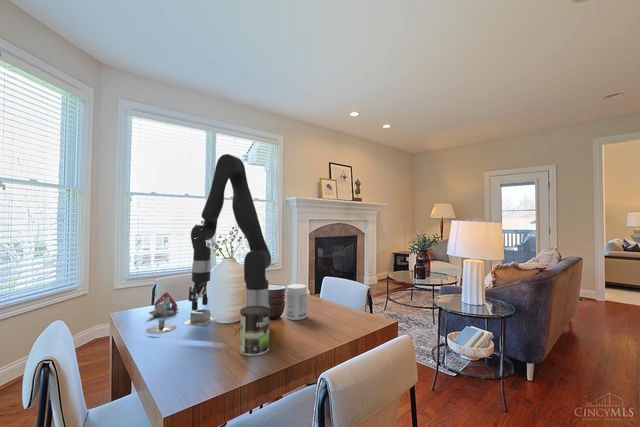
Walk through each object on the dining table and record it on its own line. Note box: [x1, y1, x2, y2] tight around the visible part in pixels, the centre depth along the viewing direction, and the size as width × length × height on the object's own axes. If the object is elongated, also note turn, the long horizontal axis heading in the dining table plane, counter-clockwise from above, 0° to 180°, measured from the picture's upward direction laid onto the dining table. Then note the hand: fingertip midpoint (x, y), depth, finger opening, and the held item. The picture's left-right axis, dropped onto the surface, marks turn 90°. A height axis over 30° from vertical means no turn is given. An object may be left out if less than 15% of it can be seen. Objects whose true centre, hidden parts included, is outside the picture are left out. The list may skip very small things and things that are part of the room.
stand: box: [183, 316, 215, 326], centre depth 133 cm, size 10×10×5 cm
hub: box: [145, 318, 178, 339], centre depth 122 cm, size 11×11×5 cm
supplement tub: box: [285, 283, 308, 321], centre depth 143 cm, size 10×10×15 cm
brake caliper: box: [148, 291, 179, 320], centre depth 141 cm, size 11×11×12 cm
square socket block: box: [189, 308, 212, 323], centre depth 133 cm, size 6×6×4 cm
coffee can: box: [239, 306, 271, 357], centre depth 108 cm, size 10×10×14 cm
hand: (199, 307), depth 133 cm, fingers open, 8 cm apart
